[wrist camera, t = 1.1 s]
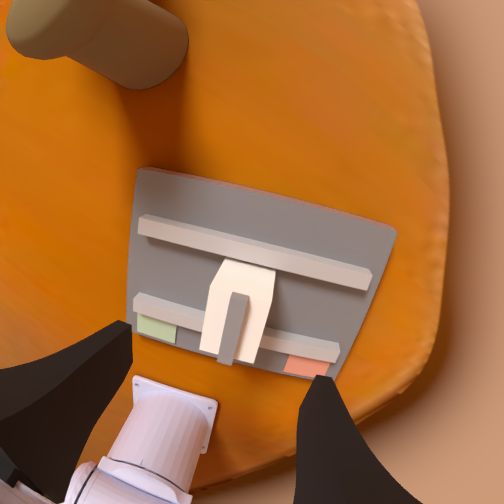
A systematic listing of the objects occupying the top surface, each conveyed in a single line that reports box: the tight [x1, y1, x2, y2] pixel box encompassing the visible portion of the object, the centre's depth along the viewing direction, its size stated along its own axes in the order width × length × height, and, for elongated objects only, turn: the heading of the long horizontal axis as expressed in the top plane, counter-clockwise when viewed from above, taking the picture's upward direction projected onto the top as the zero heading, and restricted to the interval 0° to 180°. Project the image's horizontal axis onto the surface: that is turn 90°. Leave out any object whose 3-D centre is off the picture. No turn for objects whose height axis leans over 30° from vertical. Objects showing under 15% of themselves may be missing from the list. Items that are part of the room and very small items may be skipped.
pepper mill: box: [6, 0, 189, 90], centre depth 11 cm, size 6×6×11 cm
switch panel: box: [126, 166, 398, 381], centre depth 20 cm, size 12×16×2 cm
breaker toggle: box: [199, 256, 276, 366], centre depth 17 cm, size 4×3×5 cm
